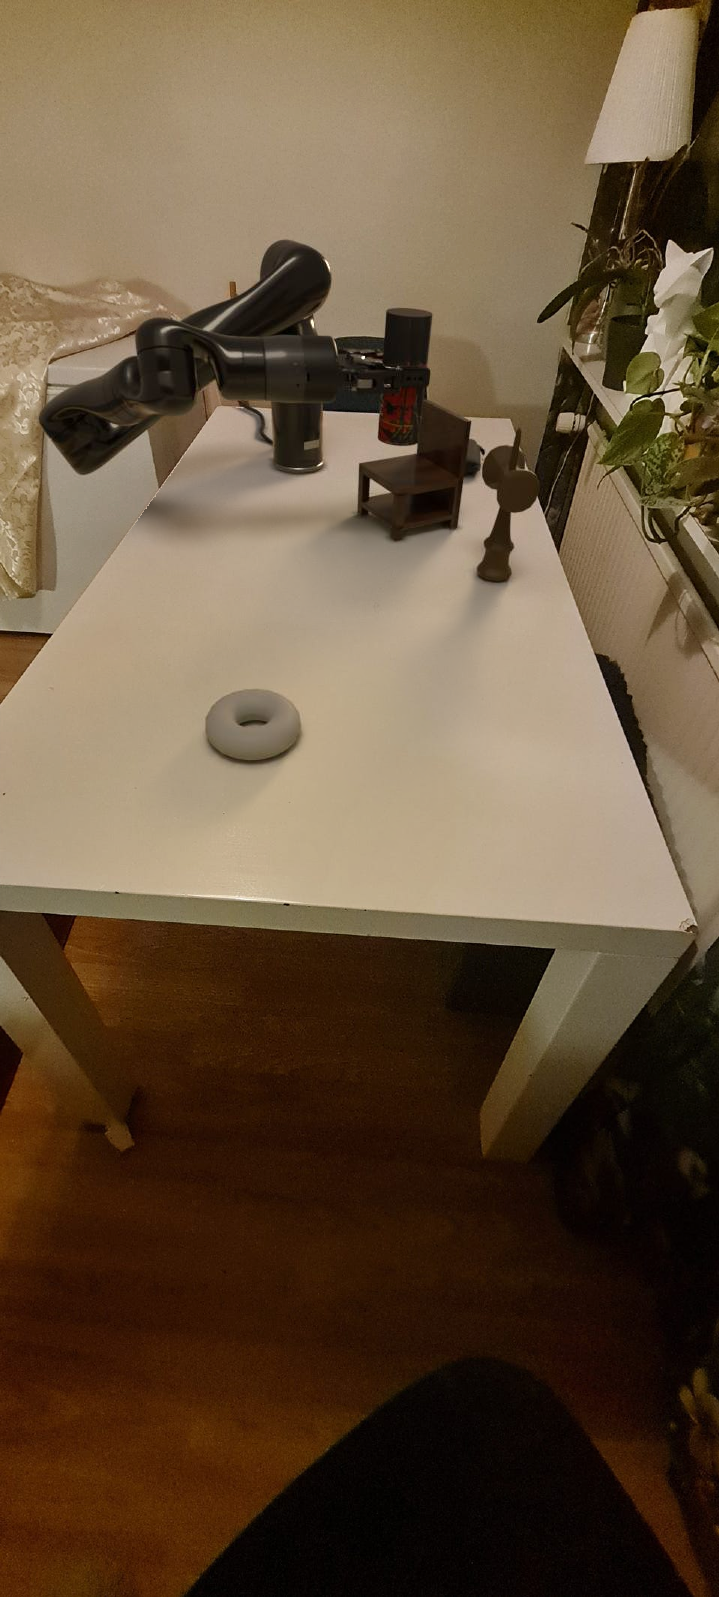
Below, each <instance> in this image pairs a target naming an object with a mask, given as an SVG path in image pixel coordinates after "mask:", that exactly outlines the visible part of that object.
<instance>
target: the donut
mask: <svg viewBox="0 0 719 1597" xmlns="http://www.w3.org/2000/svg"><path fill="white" fill-rule="evenodd" d="M248 721H263V722H266V723H265V724H262V725H259V726H252V727H250V726H242V725H240V724H242V723H245V722H248ZM204 722H205V723H204V724H205V725H204V731H205V735H206V736H207V739H208V740H209V742H210V745H212V746H213V747H214V748H215V749H216V750H218V752H220V753H221V754H223V755H225V756H228V757H230V758H234V759H237V760H243V761H259V760H265V759H269V758H273V757H275V756H278V755H279V754H281V753H283V752H285V751H287V750H289V748H290V747H291V746H292V745H293V744H294V743H295V742H296V741H297V739H298V737H299V734H300V732H301V728H302V723H301V716H300V712H299V711H298V709H297V707H296V706H295V705H294V703H293V702H292V701H291V700H290V699H288V698H287V697H286V696H284V695H283V694H281V693H278V692H275V691H273V690H269V689H261V688H247V689H242V690H237V691H236V690H235V691H233V692H230V693H228V694H226V695H224V696H222V697H221V698H219V699H218V700H217V701H215V703H214V704H212V705H211V707H210V709H209V711H208V713H207V714H206V715H205V721H204Z"/></svg>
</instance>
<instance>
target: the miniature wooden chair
mask: <svg viewBox="0 0 719 1597" xmlns="http://www.w3.org/2000/svg"><path fill="white" fill-rule="evenodd" d="M471 426H472V420H470V419H468V418H466V417H464V416H462V415H460V414H458V413H457V412H454V411H452V410H450V409H448V408H447V407H446V408H445V407H444V406H441V405H439V404H437V403H436V402H433V401H431V400H429V399H427V398H424V401H423V410H422V420H421V429H420V439H419V443H417V444H416V453H411V454H405V455H401V456H393V457H388V458H382V459H376V460H369V461H364V462H359V463H358V480H357V481H358V482H357V483H358V486H357V514H358V515H359V516H361V517H365V516H368V515H370V514H371V515H373V516H374V517H376V518H377V519H379V520H380V521H381V522H382V523H384V524H385V525H387V526H388V527H389V528H390V539H392V541H394V542H399V541H403V539H404V538H403V537H404V530H408V529H413V528H417V527H422V526H427V525H431V524H437V523H440V522H441V523H443V524H445V527H447V528H448V529H449V530H453V529H457V528H458V525H459V517H460V512H461V511H460V510H461V503H462V495H463V488H464V481H465V480H464V479H465V476H464V474H465V466H466V459H467V451H468V444H469V439H470V436H471V428H472V427H471ZM371 481H372V482H375V483H376V484H378V485H379V486H380V487H382V488H384V489H385V490H387V492H386V493H382V494H376V495H370V490H371V489H370V488H371ZM369 513H370V514H369Z"/></svg>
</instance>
